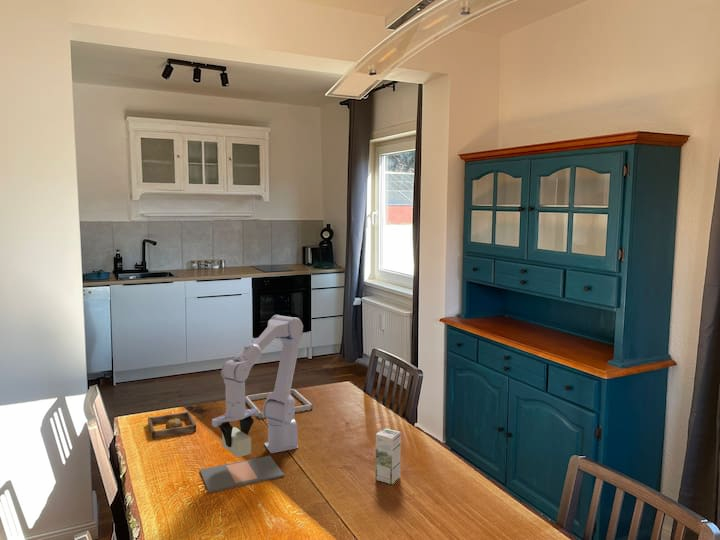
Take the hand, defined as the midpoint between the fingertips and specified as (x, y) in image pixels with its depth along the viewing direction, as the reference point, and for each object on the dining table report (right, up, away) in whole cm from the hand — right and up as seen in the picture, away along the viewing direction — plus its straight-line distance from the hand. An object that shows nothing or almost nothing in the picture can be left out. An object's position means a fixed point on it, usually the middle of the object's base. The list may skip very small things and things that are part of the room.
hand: (236, 443), depth 165 cm
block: (0, -2, 0) cm, 2 cm away
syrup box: (+46, -10, -4) cm, 47 cm away
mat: (+2, -9, -1) cm, 9 cm away
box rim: (+4, -2, +56) cm, 57 cm away
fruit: (-28, -5, +31) cm, 42 cm away
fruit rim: (-31, -5, +32) cm, 45 cm away
